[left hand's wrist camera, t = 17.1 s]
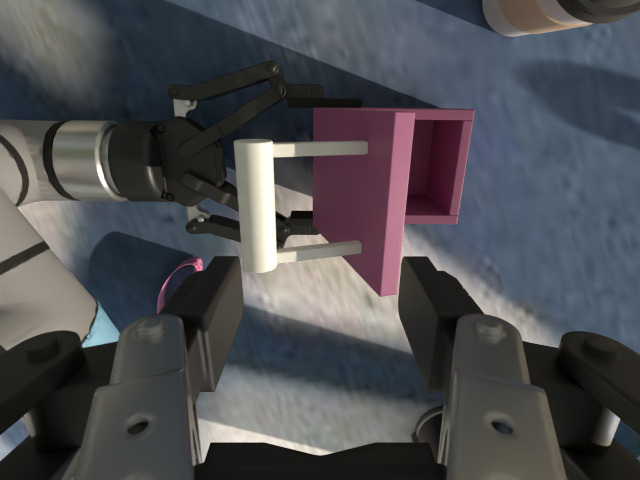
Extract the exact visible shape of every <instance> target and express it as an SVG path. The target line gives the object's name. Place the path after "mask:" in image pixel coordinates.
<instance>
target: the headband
mask: <svg viewBox="0 0 640 480" xmlns="http://www.w3.org/2000/svg"><path fill="white" fill-rule="evenodd" d="M188 264H191V265H194V266H195V268H196V271H202V261H201V259H200V258H199V257H192V258H189V259H187V260H185V261H184V262H183V263H181V264H180V265H179V266H178V267H177V268H176V270H177V269H179V268H180V267H182V266H184V265H188ZM176 270H175V271H176ZM175 271H174V272H175ZM174 272H173V273H174ZM173 273H172V274H173ZM172 274H171V275H170V277H171V276H172ZM170 277H169V278H168V279H167V280H166V282H165V284H164V285H163V287H162V289H161V292H160V294H159V297H158V303H157V314H158V313H159V312H160V311H161V309H162V308H163V307H164V295H165V290H166V286H167V284H168V281H169V279H170Z"/></svg>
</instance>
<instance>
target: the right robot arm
mask: <svg viewBox="0 0 640 480" xmlns="http://www.w3.org/2000/svg"><path fill="white" fill-rule="evenodd" d="M268 80H269V82H270V85H271V88H270V89H268V90H267V91H265V92H264V93H262V94H261V95H259V96H258V97H256V98H255V99H253V100H252V101H250V102H248V103H247V104H245V105H244V106H242V107H241V108H239V109H238V110H236V111H235V112H233V113H232V114H230V115H228V116H227V117H225V118H224V119H222V120H221V121H219V122H218V123H216V124H214V125H212V126H211V127H209V128H207V129H205V128H204V127H202V126H201V125H200V124H198V123H197V122H195V121H194V120H193V119H191V118H190V117H189V114H190V112H191V111H192V110H195V109H198V108H199V106H200V101H204V100H210V99H213V98H216V97H219V96H222V95H225V94H228V93H231V92H235V91H238V90H241V89H244V88H247V87H250V86H253V85H256V84H259V83H262V82H265V81H268ZM168 94H169V96H170V97H171V98H172V99H173V100H174V112H175V117H173V118H172V119H170V120H168V121H123V122H121V123H119V122H116V121H87V120H71V121H40V120H3V119H0V355H1V354H3V353H4V352H6V351H7V350H9V349H11V348H12V347H14V346H15V345H17V344H19V343H21V342H22V341H24V340H27V339H29V338H31V337H34V336H37V335H40V334H43V333H47V332H52V331H59V330H68V331H73V332H76V333H77V334H78V335H79V336H80V339H81V343H82V346H83V348H85V347H90V346H96V345H101V344H106V343H111V342H116V341H118V338H119V335H120V333H119V331H118V330H117V328H116V327H115V326H114V324H113V323H112V322H111V320H110V319H109V317H108V316H107V315H106V313H105V312H104V310H103V309H102V307H101V305H100V303H99V301H98V300H96V299H95V298H93V297H92V296H91V295H90V294H89V293H88V291H87V290H86V289H85V288H84V287H83V286H82V285H81V284H80V282H79V281H78V280H77V279H76V278H75V277H74V276H73V274H72V273H71V272H70V271H69V270H68V269H67V268H66V267H65V265H64V264H63V263H62V262H61V261H60V260H59V259H58V257H57V256H56V255H55V254H54V253H53V252H52V251H51V249H50V248H49V246H48V245H47V244H46V242H45V241H44V240H43V238H42V237H41V236H40V235H39V234H38V232H37V231H36V230H35V229H34V228H33V226H32V225H31V224H30V223H29V222H28V220H27V219H26V218H25V217H24V215H23V214H22V213H21V212H20V211H19V209H18V208H17V207H20V206H23V205H25V204H28V203H31V202H36V201H55V200H76V201H126V200H130V201H145V202H177V203H180V204H182V205H184V206H186V208H187V214H188V220H189V223H187V224H186V231H187V232H188V233H190V234H202V233H210V234H214V235H217V236H221V237H224V238H228V239H231V240H235V241H238V242H241V234H240V221H236V220H233V219H229V218H226V217H223V216H218V215H211V213H210V212H209V211H208V210H205V209H202V208H201V207H200V206H199V203H200V202H201V201H203V200H204V199H205V198H207V197H209V198H211V199H213V200H214V201H216V202H218V203H220V204H225V205H227V206H229V207H231V208H232V209H234V210H236V211H238V212H239V207H238V193H237V189H236V188H235V186H234V185H232V184H230V183H229V182H227V181H225V178H226V177H227V171H226V167H225V164H224V156H225V147H224V145H222V143H221V141H220V140H221V139H223V138H225V137H226V136H228V135H229V134H231V133H232V132H233V131H235V130H236V129H238V128H240V127H241V126H243V125H244V124H246V123H247V122H249V121H251V120H252V119H254V118H255V117H257V116H258V115H260V114H262V113H263V112H265V111H266V110H268V109H269V108H271V107H272V106H274V105H276V104H277V103H279V102H280V101H282V100H283V99H287V107H294V108H321V107H323V108H362V99H323V87H322V86H320V85H318V84H288V83H286V81H285V80H284V77H283V75H282V72H281V68H280V66H279V65H278V64H277V63H276V62H274V61H267V62H264V63H261V64H258V65H255V66H252V67H249V68H246V69H243V70H240V71H237V72H234V73H231V74H228V75H225V76H222V77H219V78H216V79H213V80H210V81H207V82H204V83H201V84H198V85H195V86H189V85H171V86H169V88H168ZM275 222H276V249H281V248H283V247H284V244H285V242H286V239H287V237H288V236H290V235H318V234H320V233H319V232H318V230H317V229H316V228H315V227H314V226H313V211H292V212H291V216H290V217H288V218H287V217H285V216H283V215H282V214H280V213H278V212H276V211H275Z"/></svg>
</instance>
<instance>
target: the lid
mask: <svg viewBox="0 0 640 480" xmlns="http://www.w3.org/2000/svg"><path fill="white" fill-rule="evenodd" d="M414 121H415V112H409V111H386V110H364V109H342V108H313V142H278V143H273V141H272V140H267V139H241V140H235V141H234V152H235V165H236V179H237V193H238V207H239V220H240V234H241V248H242V262H243V268H244V269H245V270H246V271H248V272H252V273H263V272H268V271H271V270H273V269H274V268H276V266H277V264H278V263H286V262H294V261H302V260H311V259H319V258H327V257H335V256H342V257H343V258H344V259H345V260H346V261H347V262H348V263H349V264H350V265H351V267H352V268H353V269H354V270H355V271H356V272H357V273H358V274H359V275H360V276H361V277H362V278H363V279H364V280H365V281H366V282H367V284H368V285H369V286H370V287H371V288H372V289H373V290H374V291H375V292H376V293H377V294H378V295H379V296H380V297H382V296H388V295H394V294H397V289H398V279H399V270H400V260H401V250H402V240H403V230H404V220H405V210H406V200H407V190H408V180H409V170H410V160H411V151H412V141H413V131H414ZM298 156H313V226H314V227H315V228H316V229H317V230H318V232H319V233H320V234H321V235H322V236H323V237H324V238H325V239H326V240H327V241H328V242H329V243H327V244H318V245H309V246H300V247H291V248H281V249H276V222H275V193H274V165H273V157H298Z"/></svg>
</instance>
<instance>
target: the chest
mask: <svg viewBox="0 0 640 480" xmlns="http://www.w3.org/2000/svg"><path fill="white" fill-rule="evenodd" d="M321 108H323V107H321ZM342 109H364V110H386V111H409V112H415V121H414V131H413V141H412V151H411V160H410V170H409V180H408V190H407V200H406V210H405V220H404V224H457V219H458V212H459V206H460V200H461V193H462V187H463V180H464V174H465V168H466V161H467V155H468V148H469V142H470V136H471V129H472V123H473V121H472V120H473V117H474V111H475V110H474V109H449V108H393V107H362V108H342Z"/></svg>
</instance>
